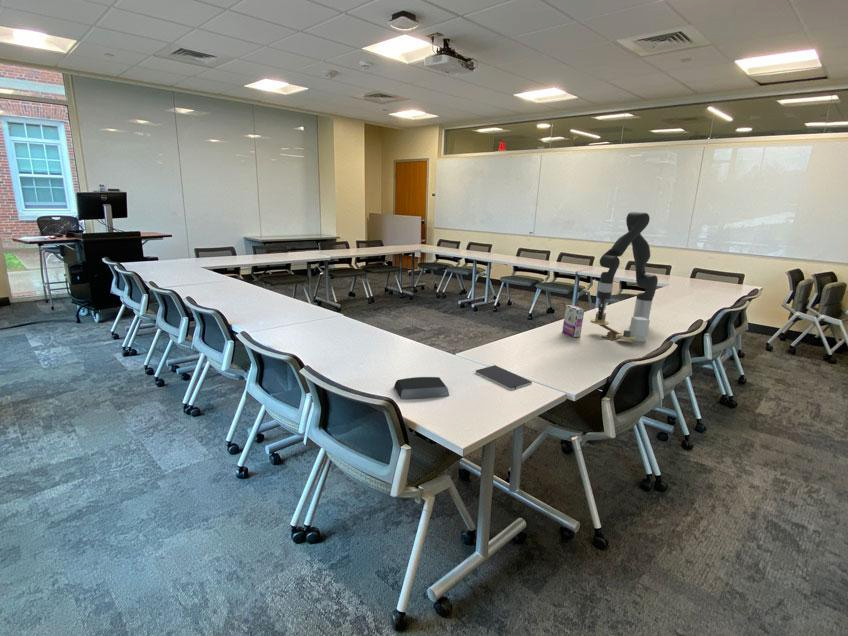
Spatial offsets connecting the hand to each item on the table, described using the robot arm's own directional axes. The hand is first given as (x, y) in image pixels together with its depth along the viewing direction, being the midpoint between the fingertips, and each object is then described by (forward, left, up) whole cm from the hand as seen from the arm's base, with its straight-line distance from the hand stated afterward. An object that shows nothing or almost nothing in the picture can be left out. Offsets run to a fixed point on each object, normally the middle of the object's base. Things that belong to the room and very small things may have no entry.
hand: (600, 318), depth 262 cm
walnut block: (0, 0, -2) cm, 2 cm away
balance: (+4, +8, -9) cm, 13 cm away
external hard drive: (+128, -50, -10) cm, 138 cm away
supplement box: (-2, +21, -9) cm, 23 cm away
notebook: (+97, -27, -10) cm, 101 cm away
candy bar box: (+12, -13, -9) cm, 20 cm away
